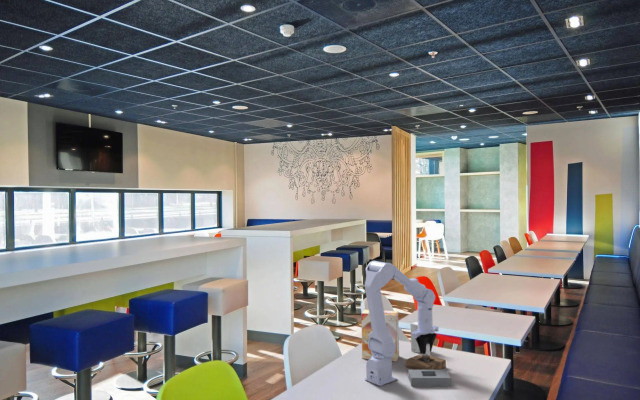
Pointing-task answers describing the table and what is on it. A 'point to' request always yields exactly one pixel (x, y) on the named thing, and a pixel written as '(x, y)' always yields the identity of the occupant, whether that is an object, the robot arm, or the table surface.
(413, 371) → the bored beam
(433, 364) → the walnut seat block
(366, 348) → the coffeecake box
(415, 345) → the skincare box
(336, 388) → the table surface
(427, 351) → the metal axle
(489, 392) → the table surface
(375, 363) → the robot arm
